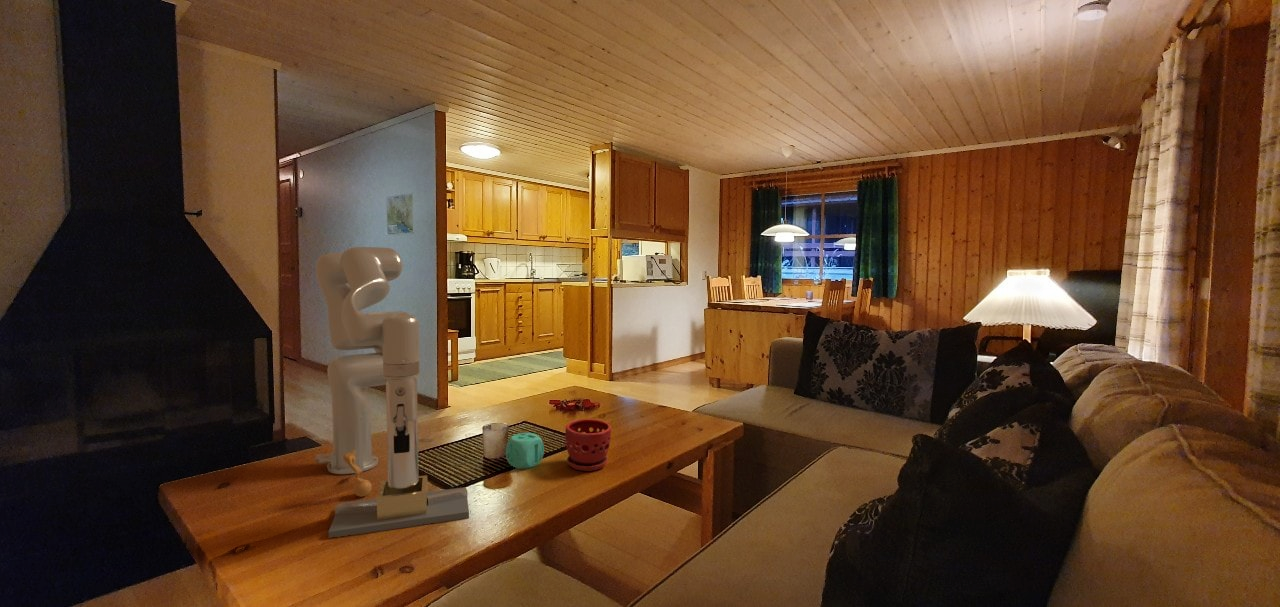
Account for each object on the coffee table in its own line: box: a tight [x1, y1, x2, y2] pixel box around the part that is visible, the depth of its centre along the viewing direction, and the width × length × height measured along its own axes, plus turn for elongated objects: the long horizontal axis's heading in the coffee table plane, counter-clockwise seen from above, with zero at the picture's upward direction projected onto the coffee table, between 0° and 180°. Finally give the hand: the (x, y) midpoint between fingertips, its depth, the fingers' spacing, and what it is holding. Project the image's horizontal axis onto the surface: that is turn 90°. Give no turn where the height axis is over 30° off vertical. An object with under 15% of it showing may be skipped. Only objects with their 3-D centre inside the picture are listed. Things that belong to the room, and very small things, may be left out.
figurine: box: [343, 450, 373, 498], centre depth 130 cm, size 8×6×12 cm
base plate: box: [328, 486, 470, 539], centre depth 122 cm, size 28×14×2 cm, turn 111°
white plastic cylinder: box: [385, 377, 419, 489], centre depth 121 cm, size 6×6×25 cm
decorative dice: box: [504, 432, 545, 470], centre depth 153 cm, size 8×8×8 cm
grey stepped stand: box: [334, 475, 468, 521], centre depth 122 cm, size 28×10×5 cm, turn 111°
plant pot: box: [564, 418, 612, 472], centre depth 153 cm, size 13×13×12 cm
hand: (402, 446), depth 121 cm, fingers closed on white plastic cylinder, 5 cm apart
